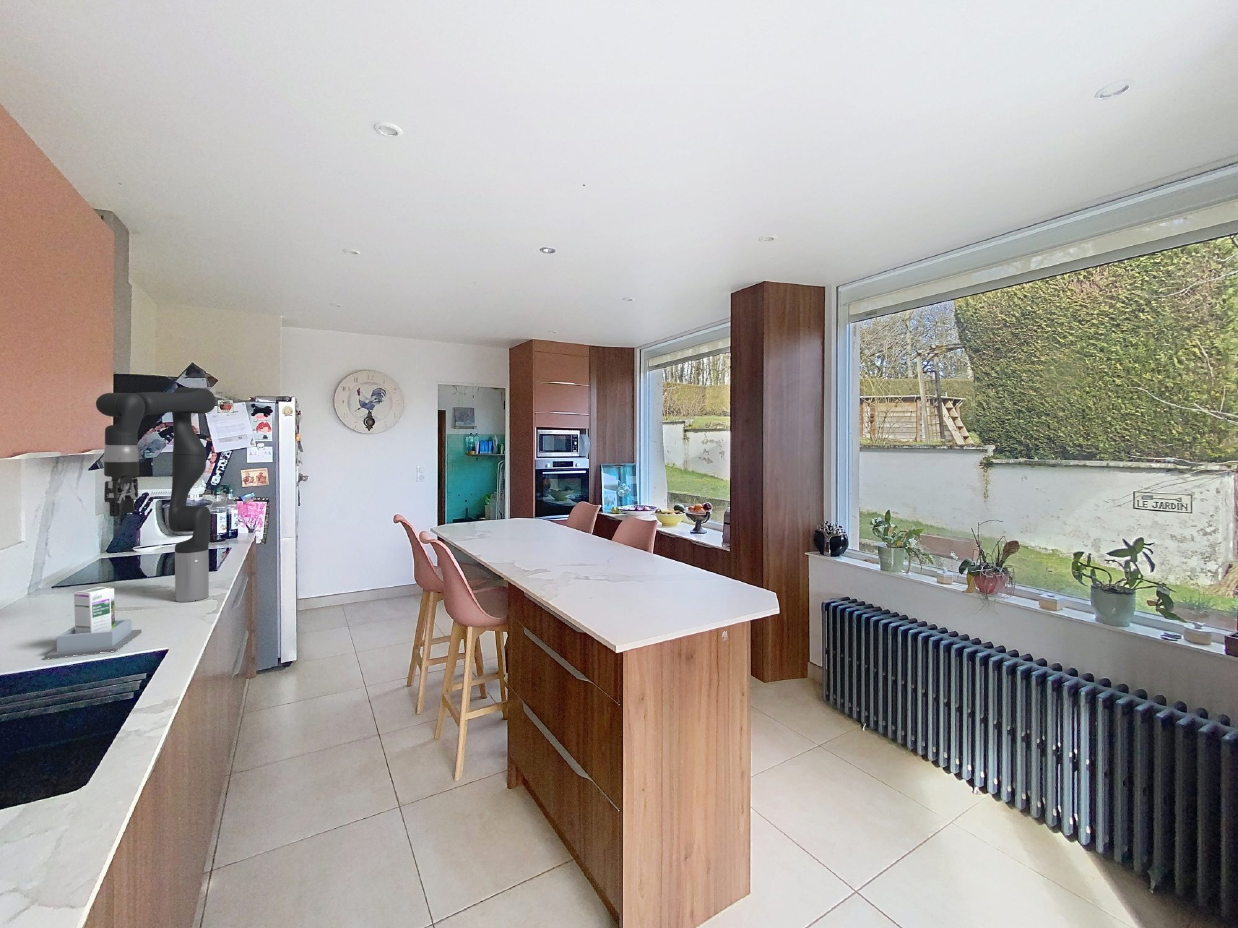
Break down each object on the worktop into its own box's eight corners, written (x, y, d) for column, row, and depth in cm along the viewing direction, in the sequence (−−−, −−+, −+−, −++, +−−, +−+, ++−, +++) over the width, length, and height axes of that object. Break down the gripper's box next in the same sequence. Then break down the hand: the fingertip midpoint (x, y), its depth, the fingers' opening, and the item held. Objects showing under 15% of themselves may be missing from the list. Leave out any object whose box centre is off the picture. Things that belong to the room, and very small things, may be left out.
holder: (77, 638, 145) (77, 621, 145) (141, 632, 150) (141, 615, 150) (44, 659, 131) (44, 640, 131) (116, 651, 137) (115, 633, 137)
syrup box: (91, 646, 137) (90, 592, 137) (74, 644, 139) (73, 591, 138) (115, 638, 143) (115, 587, 142) (99, 636, 144) (98, 585, 144)
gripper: (126, 461, 148) (127, 517, 148) (148, 459, 161) (148, 511, 161) (92, 461, 145) (92, 518, 145) (117, 459, 158) (117, 511, 158)
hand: (122, 514), depth 153 cm, fingers open, 8 cm apart
